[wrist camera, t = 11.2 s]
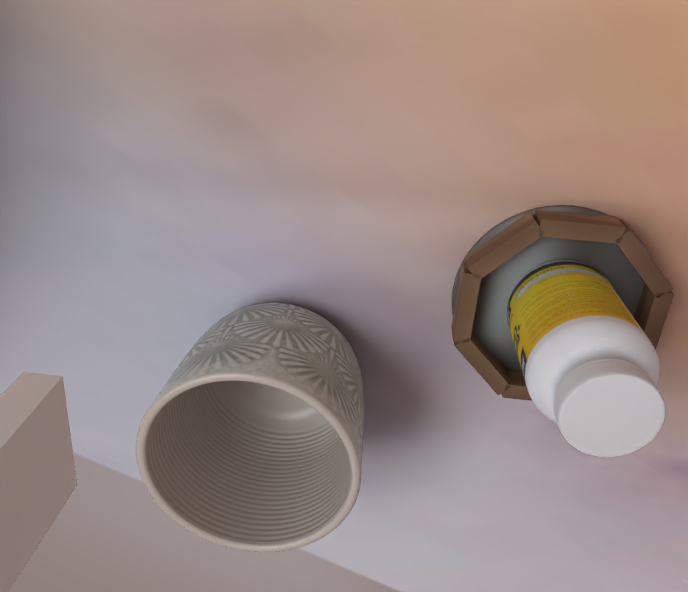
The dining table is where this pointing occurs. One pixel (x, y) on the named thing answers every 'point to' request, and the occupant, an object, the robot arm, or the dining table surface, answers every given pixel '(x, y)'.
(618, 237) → the holder
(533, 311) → the pill bottle
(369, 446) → the dining table surface
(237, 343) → the planter
